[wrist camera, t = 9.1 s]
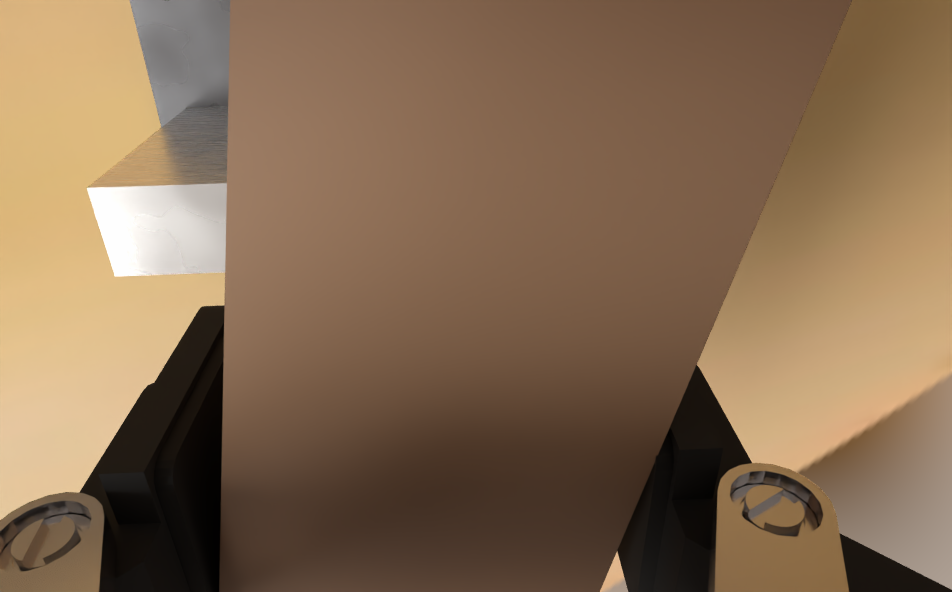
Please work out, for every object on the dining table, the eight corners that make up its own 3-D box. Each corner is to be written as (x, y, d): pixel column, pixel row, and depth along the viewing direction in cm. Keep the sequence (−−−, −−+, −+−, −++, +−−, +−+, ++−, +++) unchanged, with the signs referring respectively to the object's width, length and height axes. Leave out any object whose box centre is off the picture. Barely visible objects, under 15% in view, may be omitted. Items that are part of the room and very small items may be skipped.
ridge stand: (137, -20, 22) (-17, 19, 14) (696, -34, 22) (823, -3, 15) (205, 260, 27) (117, 395, 19) (660, 243, 27) (742, 368, 20)
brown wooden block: (371, -488, 8) (251, -1158, 3) (752, -375, 9) (1182, -774, 4) (277, 633, 19) (213, 910, 14) (456, 648, 19) (459, 918, 14)
